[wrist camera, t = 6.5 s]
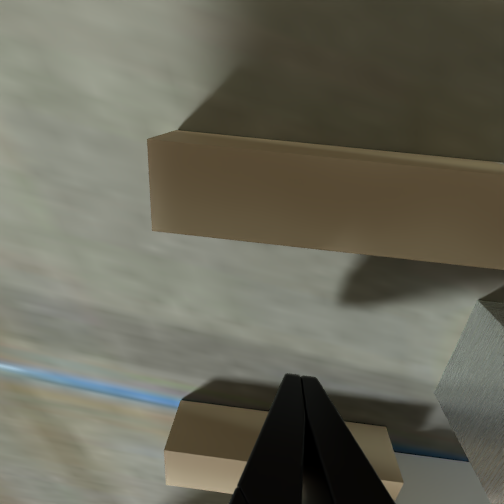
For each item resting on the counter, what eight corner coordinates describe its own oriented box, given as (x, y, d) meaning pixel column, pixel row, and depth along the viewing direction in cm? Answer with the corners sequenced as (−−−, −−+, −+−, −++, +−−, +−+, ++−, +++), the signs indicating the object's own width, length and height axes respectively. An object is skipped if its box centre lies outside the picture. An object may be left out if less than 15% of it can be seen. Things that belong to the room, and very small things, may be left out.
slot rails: (373, 459, 13) (387, 515, 11) (181, 433, 14) (166, 484, 12) (493, 161, 8) (555, 180, 6) (176, 129, 8) (147, 138, 6)
